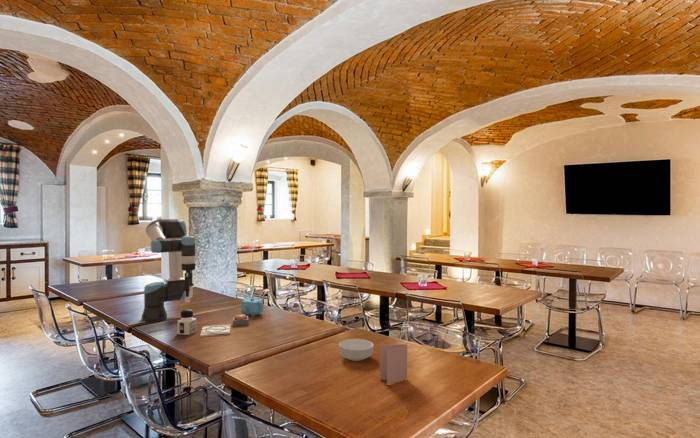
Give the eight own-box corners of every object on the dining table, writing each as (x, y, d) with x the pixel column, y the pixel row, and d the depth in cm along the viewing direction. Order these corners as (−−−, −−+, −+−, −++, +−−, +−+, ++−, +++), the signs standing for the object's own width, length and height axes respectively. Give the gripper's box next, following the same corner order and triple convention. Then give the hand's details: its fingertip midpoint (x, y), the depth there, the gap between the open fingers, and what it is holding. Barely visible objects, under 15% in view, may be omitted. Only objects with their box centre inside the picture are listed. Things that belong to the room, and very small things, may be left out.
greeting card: (406, 378, 180) (406, 343, 180) (409, 386, 173) (409, 349, 172) (379, 379, 180) (380, 344, 179) (381, 386, 172) (381, 350, 172)
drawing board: (202, 327, 254) (202, 325, 254) (230, 326, 258) (230, 323, 258) (200, 336, 237) (200, 334, 237) (229, 334, 241) (229, 332, 241)
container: (189, 335, 240) (189, 312, 239) (177, 334, 241) (176, 311, 241) (196, 331, 247) (196, 309, 247) (184, 330, 249) (184, 308, 248)
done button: (235, 318, 265) (235, 314, 265) (245, 318, 267) (245, 314, 267) (235, 321, 260) (235, 317, 260) (245, 320, 261) (245, 316, 261)
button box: (233, 322, 267) (233, 316, 266) (248, 321, 269) (248, 315, 269) (233, 326, 258) (233, 320, 258) (248, 325, 260) (248, 319, 260)
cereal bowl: (362, 367, 193) (362, 352, 192) (332, 360, 201) (332, 345, 201) (379, 356, 207) (379, 342, 207) (350, 350, 216) (351, 336, 216)
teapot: (235, 316, 280) (235, 299, 280) (251, 310, 297) (251, 294, 297) (255, 319, 274) (255, 301, 274) (270, 312, 291) (270, 296, 291)
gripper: (193, 265, 233) (193, 304, 233) (197, 260, 257) (197, 295, 258) (178, 266, 231) (179, 304, 231) (184, 260, 255) (184, 295, 256)
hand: (188, 299), depth 244 cm, fingers open, 13 cm apart
